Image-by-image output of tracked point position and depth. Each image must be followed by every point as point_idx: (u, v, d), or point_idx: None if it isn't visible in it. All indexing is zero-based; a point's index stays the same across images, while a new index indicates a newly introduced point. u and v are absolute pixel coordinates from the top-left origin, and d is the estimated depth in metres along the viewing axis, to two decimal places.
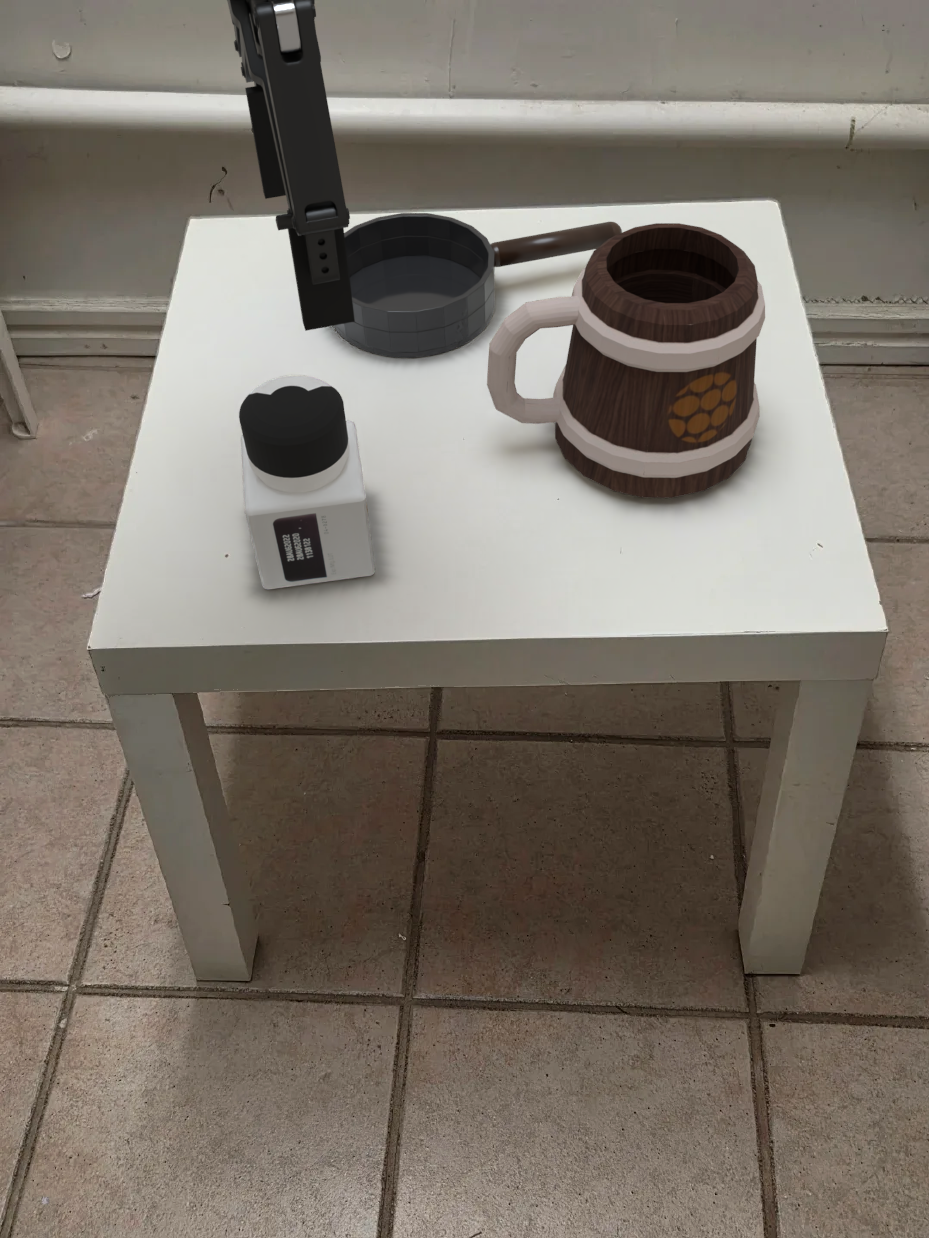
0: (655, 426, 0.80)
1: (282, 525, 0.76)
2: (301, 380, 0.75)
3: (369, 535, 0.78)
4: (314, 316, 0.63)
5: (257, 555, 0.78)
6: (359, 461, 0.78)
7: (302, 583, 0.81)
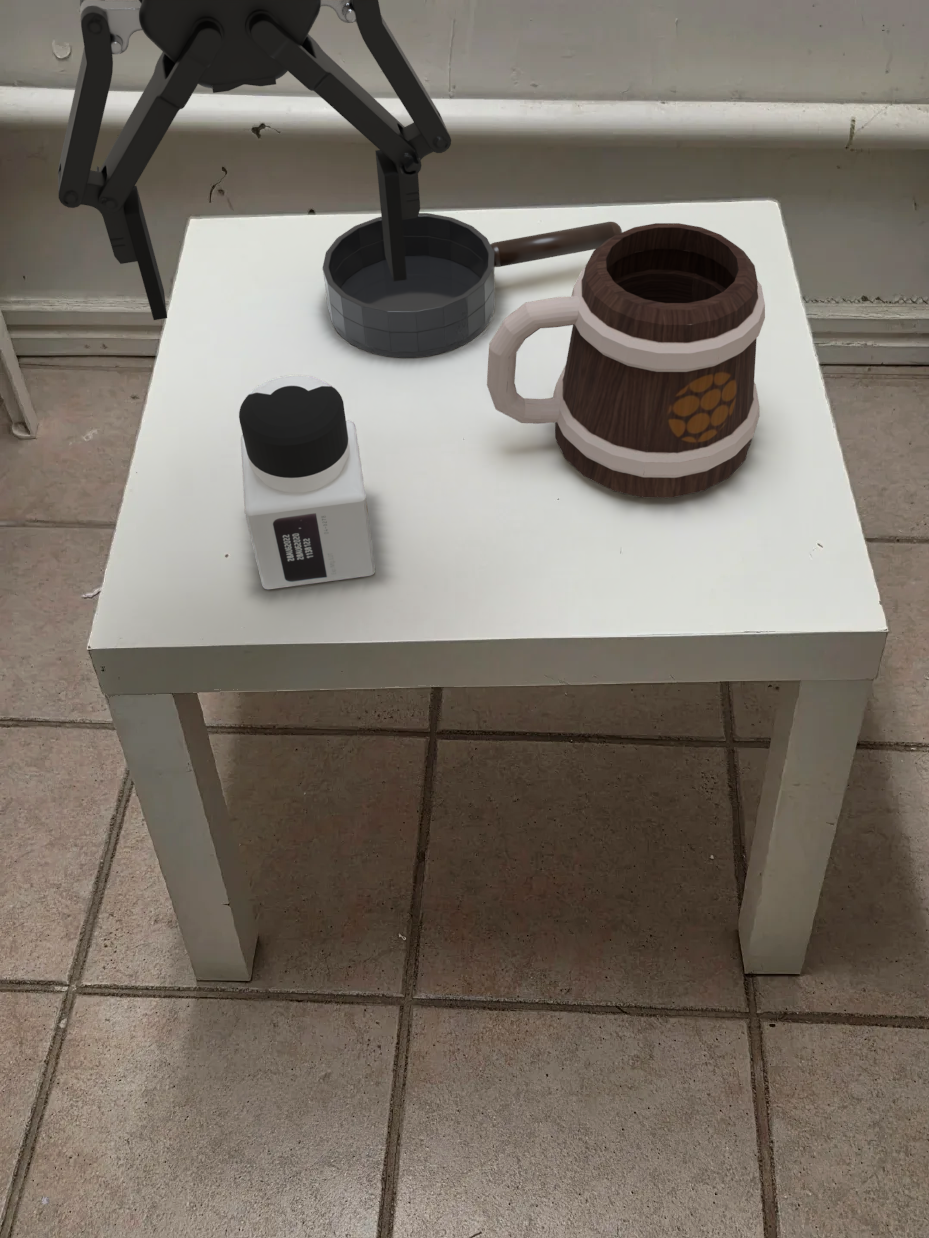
0: (655, 426, 0.80)
1: (282, 525, 0.76)
2: (301, 380, 0.75)
3: (369, 535, 0.78)
4: None
5: (257, 555, 0.78)
6: (359, 461, 0.78)
7: (302, 583, 0.81)
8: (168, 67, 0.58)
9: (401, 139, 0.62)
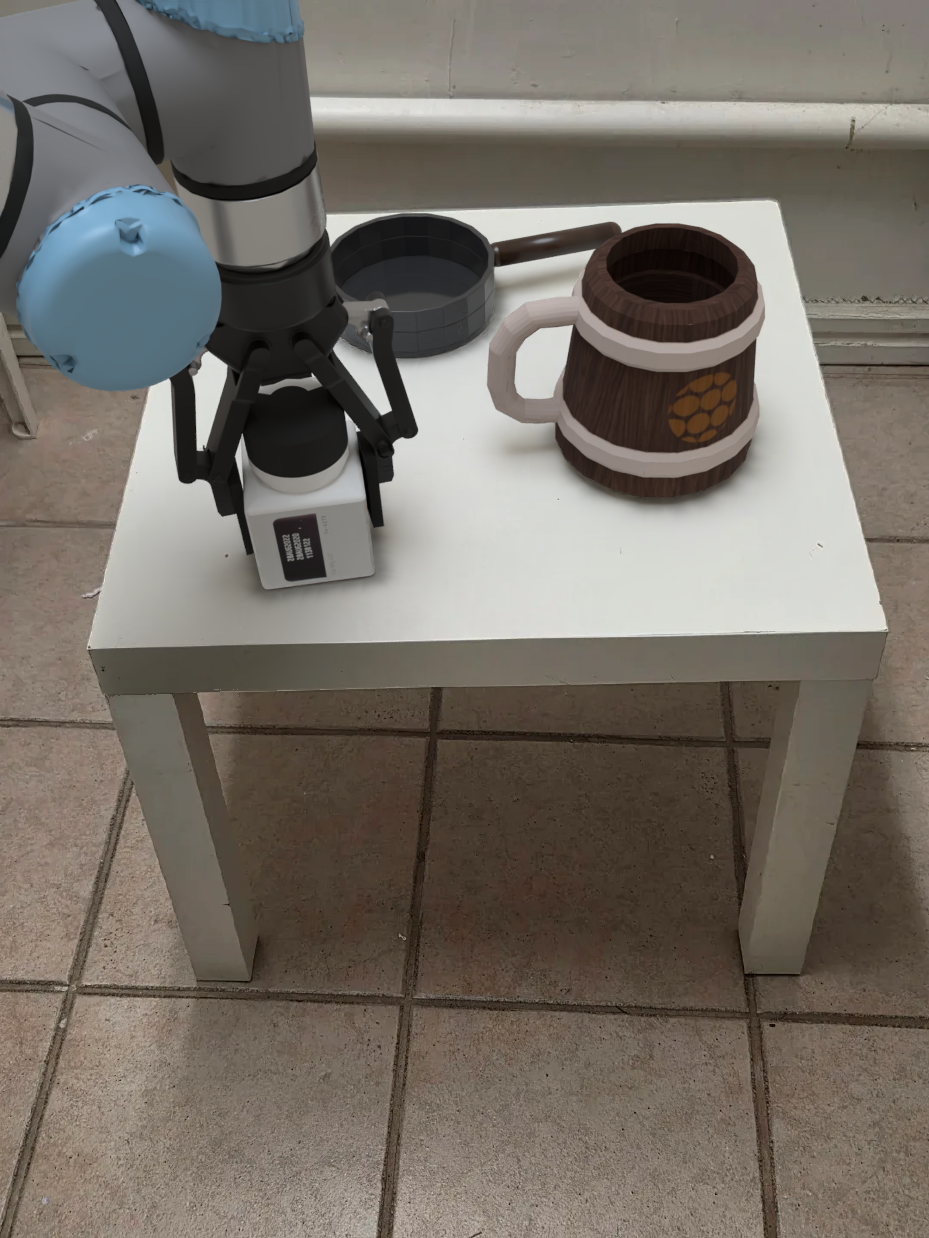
0: (655, 426, 0.80)
1: (282, 525, 0.76)
2: (301, 380, 0.75)
3: (369, 535, 0.78)
4: None
5: (257, 555, 0.78)
6: (359, 461, 0.78)
7: (302, 583, 0.81)
8: None
9: (382, 431, 0.76)
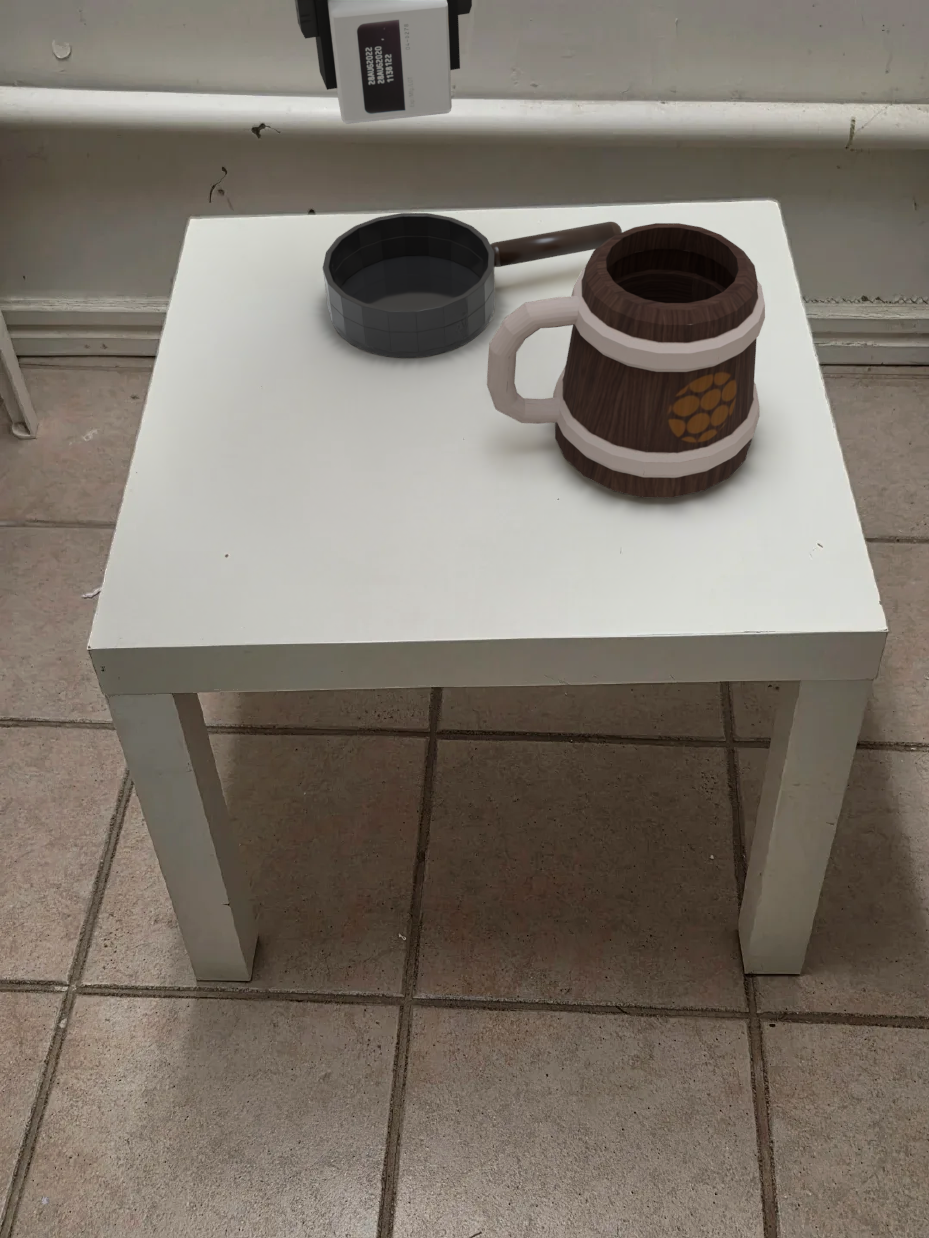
0: (655, 426, 0.80)
1: (365, 34, 0.78)
2: None
3: (448, 57, 0.80)
4: None
5: (340, 75, 0.80)
6: None
7: (381, 117, 0.83)
8: None
9: None
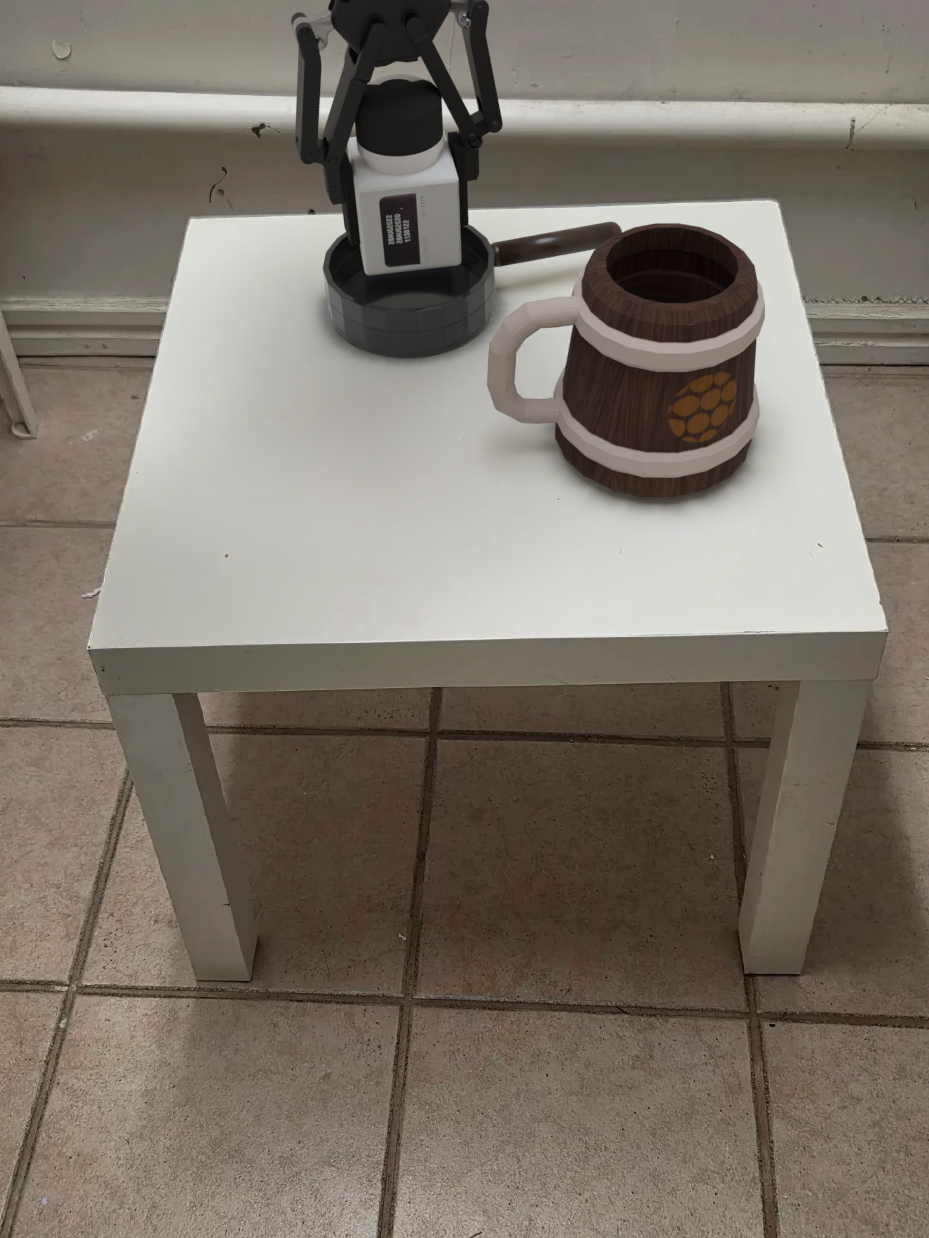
0: (655, 426, 0.80)
1: (386, 204, 0.89)
2: (404, 75, 0.88)
3: (459, 221, 0.91)
4: None
5: (363, 237, 0.91)
6: (451, 155, 0.91)
7: (399, 270, 0.94)
8: (353, 56, 0.85)
9: (473, 122, 0.89)
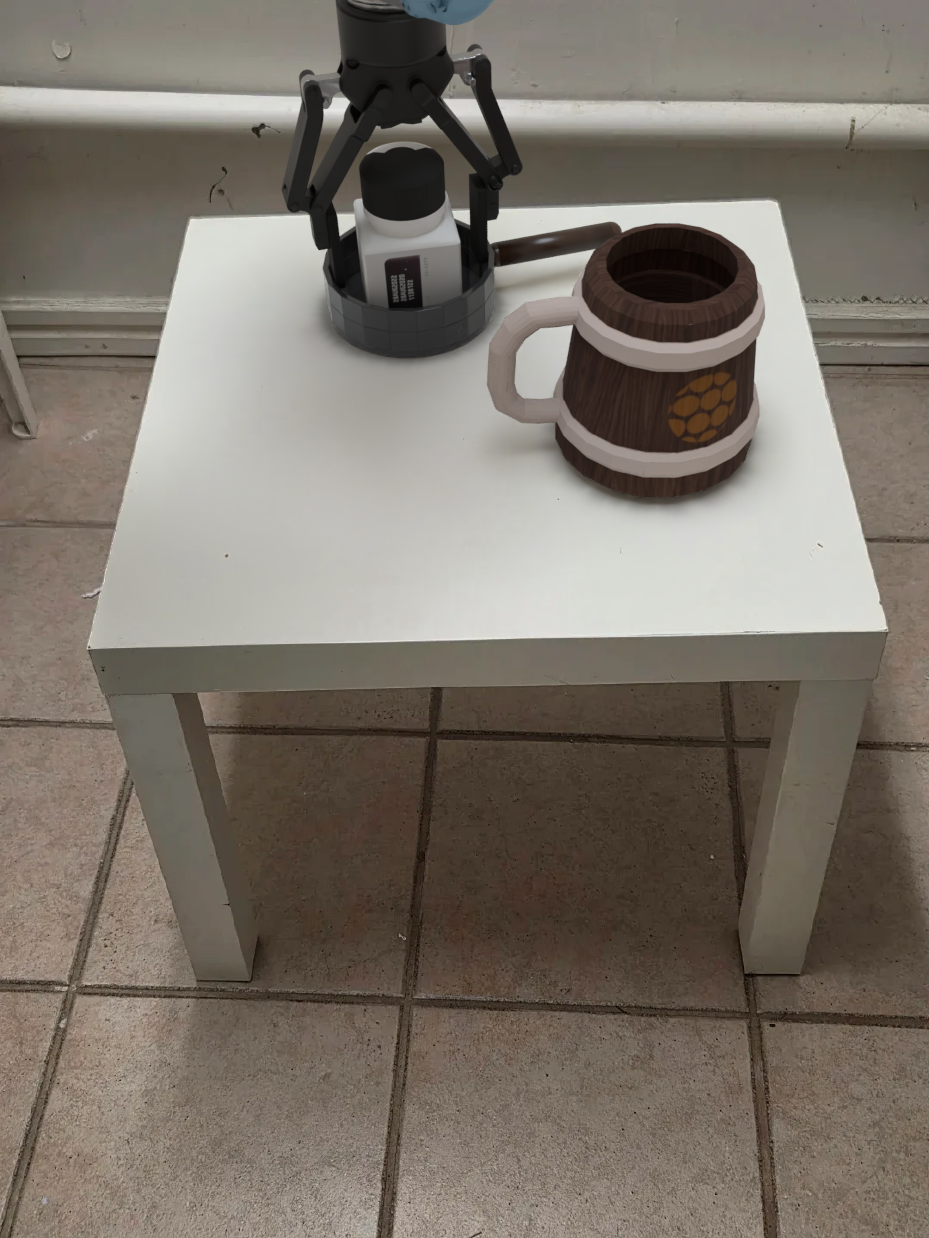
0: (655, 426, 0.80)
1: (391, 265, 0.93)
2: (408, 143, 0.92)
3: (460, 280, 0.95)
4: None
5: (369, 296, 0.95)
6: (453, 217, 0.95)
7: None
8: (354, 115, 0.88)
9: (491, 166, 0.92)
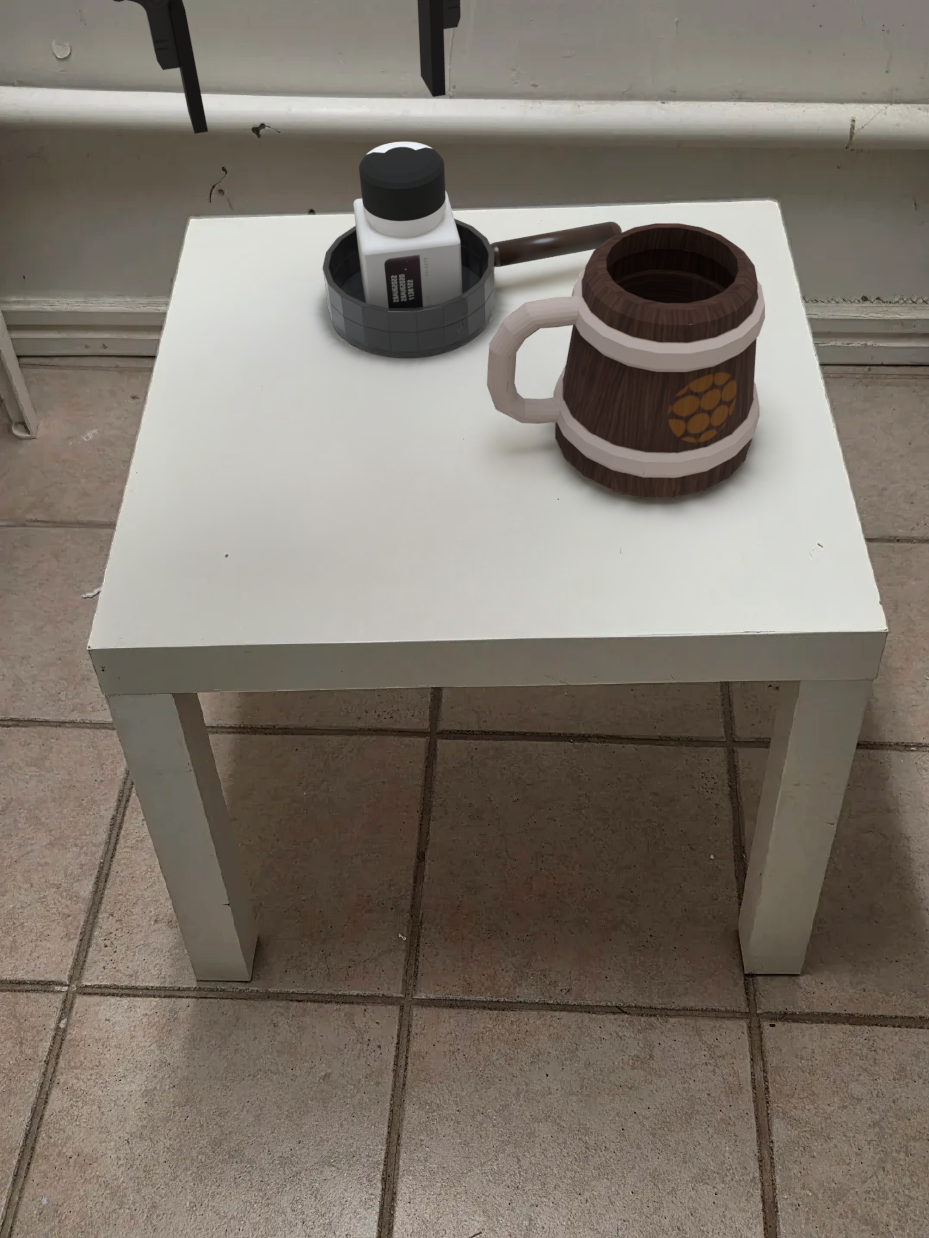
0: (655, 426, 0.80)
1: (391, 265, 0.93)
2: (408, 143, 0.92)
3: (460, 280, 0.95)
4: None
5: (369, 296, 0.95)
6: (453, 217, 0.95)
7: None
8: None
9: None
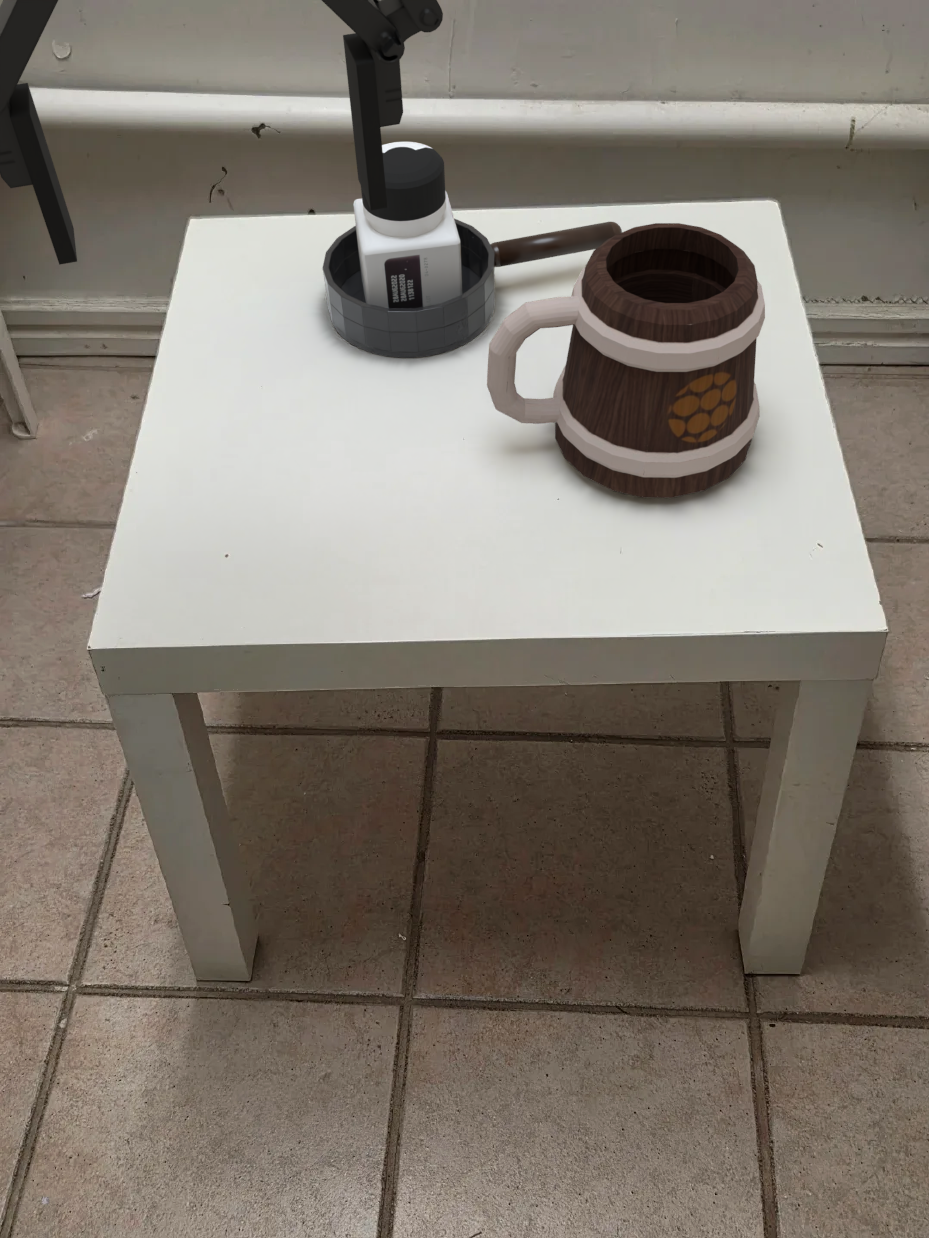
0: (655, 426, 0.80)
1: (391, 265, 0.93)
2: (408, 143, 0.92)
3: (460, 280, 0.95)
4: None
5: (369, 296, 0.95)
6: (453, 217, 0.95)
7: None
8: None
9: (377, 12, 0.47)
